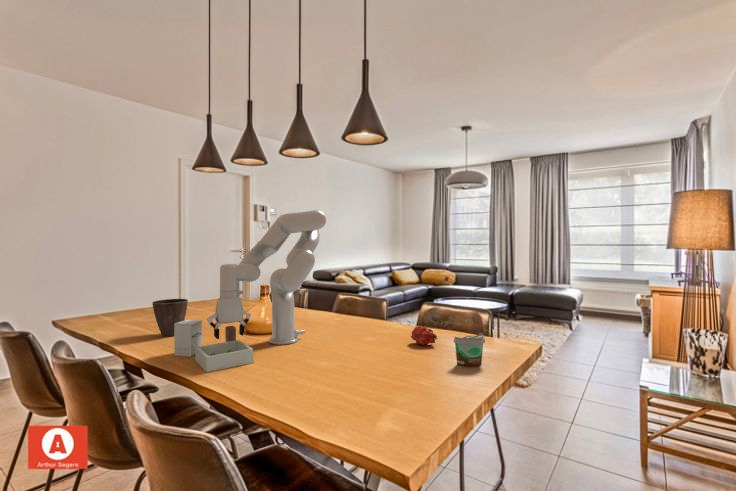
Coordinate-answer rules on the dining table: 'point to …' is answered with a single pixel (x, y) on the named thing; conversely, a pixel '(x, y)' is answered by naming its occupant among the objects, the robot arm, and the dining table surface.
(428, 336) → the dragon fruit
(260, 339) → the dining table surface
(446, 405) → the dining table surface
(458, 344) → the food container
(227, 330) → the walnut timber post
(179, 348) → the supplement box
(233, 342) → the pale green tray
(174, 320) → the plant pot
